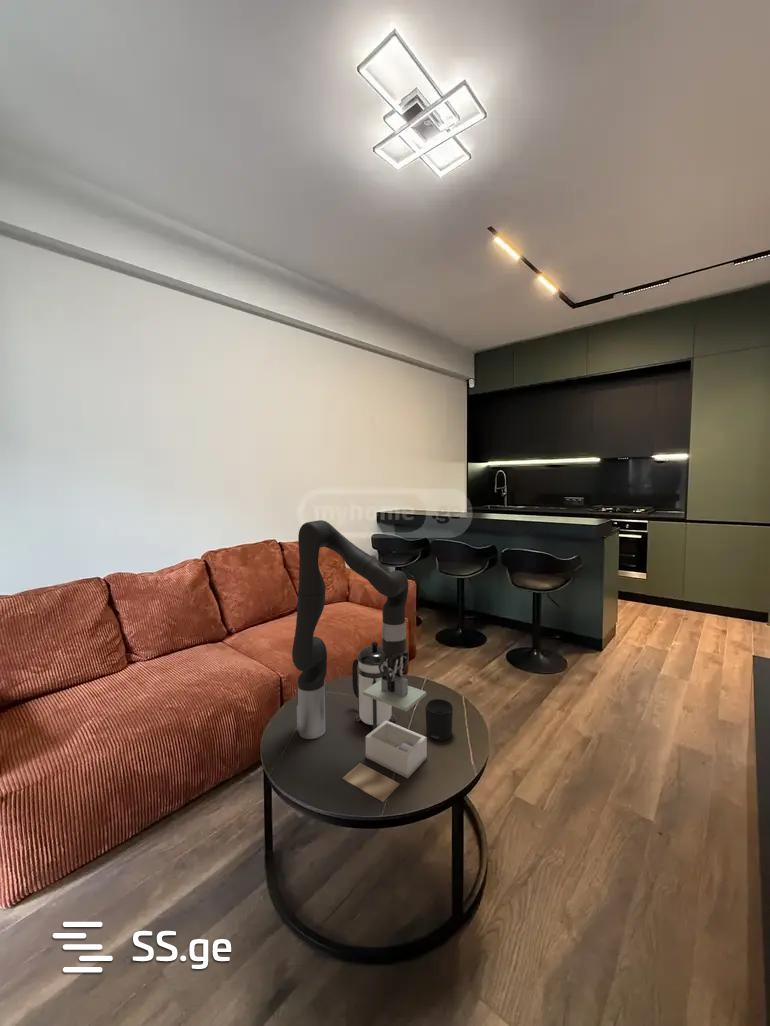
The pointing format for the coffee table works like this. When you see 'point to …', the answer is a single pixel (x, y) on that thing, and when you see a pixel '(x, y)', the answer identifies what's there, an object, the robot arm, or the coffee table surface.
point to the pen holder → (439, 719)
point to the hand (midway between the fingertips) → (394, 688)
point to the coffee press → (367, 676)
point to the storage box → (396, 748)
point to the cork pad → (371, 782)
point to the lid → (395, 693)
